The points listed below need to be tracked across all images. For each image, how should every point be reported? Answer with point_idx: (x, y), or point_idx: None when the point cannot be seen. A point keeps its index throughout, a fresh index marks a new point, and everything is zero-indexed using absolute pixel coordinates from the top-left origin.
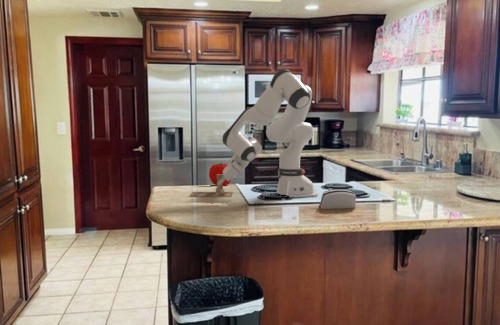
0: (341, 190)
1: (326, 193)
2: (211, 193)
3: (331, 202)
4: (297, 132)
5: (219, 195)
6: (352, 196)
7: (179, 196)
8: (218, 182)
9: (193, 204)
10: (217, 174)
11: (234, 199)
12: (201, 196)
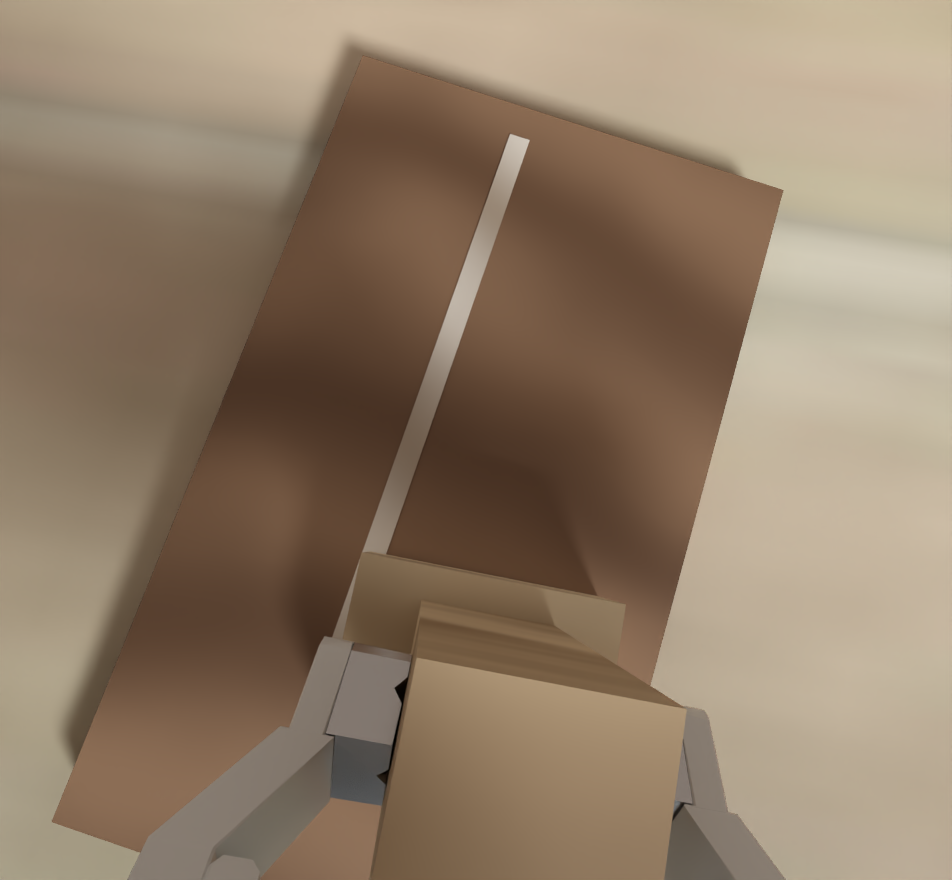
0: None
1: None
2: (529, 493)
3: None
4: None
5: (292, 610)
6: None
7: (663, 6)
8: (320, 646)
9: (20, 110)
10: (626, 728)
11: (106, 874)
12: (322, 265)
